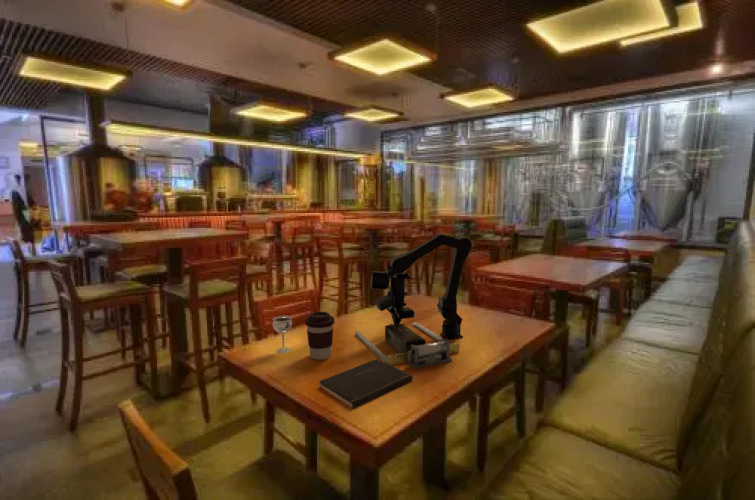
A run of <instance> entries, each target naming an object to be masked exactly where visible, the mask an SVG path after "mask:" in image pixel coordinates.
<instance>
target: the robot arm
mask: <svg viewBox="0 0 755 500" xmlns="http://www.w3.org/2000/svg"><path fill="white" fill-rule="evenodd" d="M472 245H473V244H472V241H471V240H470V239H469V238H468V237H465V236H462V235H458V236H452V235H446V234H443V233H440V232H439V233H436V234H435V235H434V236H432V237H431V238H429V239H428V240H426V241H424V242H423V243H421V244H419V245H418V246H416V247H415V248H413V249H411V250H409V251H407V252H402V253H400V254H397V255H395V256H393V257H392V258H391V260H390V263H389V266H387V268H386V269H385V271H376V270H372V271H371V278H370V289H371V290H387V289H388V288H389V290H388V291H387V293H386V294H387V295H383V296H381V297H378V298H376V299H375V300H374V302H375V305H376V308H377V309H378V310H379V311H381V312H383V311H384V312H385V310H387V311H388V313H390V315H391V319H392V322H393V325H395V324H401V322H402V320H405V319H412V318H415V311H414V310H413V309H412V308H410V307H409V306H407V302H405V301H406V300H405V298H406V296H408V293H407V292H406V281H407V280H411V279H412V277H411V275H410V274H409V273H408V271H407V270H408V269H409V268H410V267H412V265H413V264H414V263H415V262H416V261H417V260H420V259H421V258H423V257H425V256H426V255H428V254H429V253H431V252H433V251H434V250H436V249H439V247H441V246H447V247H450V248H451V256H452V260H451V265H450V269H449V274H448V279H447V283H446V287H445V292H444V294H443V296H438V303H437V304H436V307H437V310H438V312H439V314H440V315H441V317H443V319H444V320H443V321H442V325H441V332H440V334H439V335H440V336H441V337H443V338H444V339H445V338H446V340H448V341H449V340H450V341H451V340H455V339H460V338H461V339H462V338H463V336H464V335H462V334H461V330H462V329H461V328H462V327H461V326H462V322H463V318H462V317H461V316H460V315H459V314H458V302H457V296H458V290H459V286H460V281H461V277H462V272H463V268H464V264H465V261H466V259H467V258H468V256H469V255H470V252H471V250H472V247H473V246H472Z"/></svg>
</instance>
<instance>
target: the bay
mask: <svg viewBox="0 0 755 500" xmlns="http://www.w3.org/2000/svg"><path fill="white" fill-rule="evenodd" d="M412 322H413V321H412ZM412 325H413V326H414V327H416V328H418V330H420V331H422V332H424V333H425V334H427V335H428V336H430V338H432V339H434V340H436V342H438V341H442V339H444V337H443V336H441V335H438V334H437V333H436V332H434V331H432V330H431V329H429V328H427V327H425V326H424V325H422V324H420V323H419V322H418V321H414V322H413V324H412ZM354 335H355V336H356V337H357V338H358V339H359V340H360V341H361V342H362V343H363V344H365V346H366V347H367V348H368V349H369V350H371V351H372V352H373V353H374V354H375V355H376V356H377V357H378V358H379V360H381V361H383V362H385V363H387V364H389V365H391V366H394V365H399V364H404V363H407V362H406V352H404V353H399V352H398V353H394V354H389V355H386V354H385V353H384V352H382V351H381V350H380V349H379V348H378V347H377V346H375V344H374V343H372V342H371V341H370V340H369V339H368V338H367V337H366V336H365V335H363V334H362V333H361V332H360V331H359V330H356V331H354ZM459 352H460V343H459V342H452V343H451V342H450V345H449V354H453V353H454V354H455V353H459Z"/></svg>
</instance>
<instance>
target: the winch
mask: <svg viewBox="0 0 755 500" xmlns="http://www.w3.org/2000/svg"><path fill="white" fill-rule="evenodd" d="M450 343H451V342H450V341H449V340H448V339H445V338H443V339H442V341H435V342H429V343H426V344H422V345H417V346H415V345H411V351H407V352H406V362H405V363H407V364H409V365H410V366H411V367H412V368H413V369H414V370H417V369H421V368H422V369H423V368H426V367H427V368H428V367H431V366H435V365H436V366H437V365H440V364H445V363H450V362H453V361H452V360H453V358H452V357H451V356H450V353H449V345H450Z"/></svg>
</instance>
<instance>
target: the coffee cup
mask: <svg viewBox="0 0 755 500" xmlns="http://www.w3.org/2000/svg"><path fill="white" fill-rule="evenodd" d="M304 323H305V326H306V327H307V329H306V334H307V342H308V343H307V344H308V346H309V347H308V349H309V355H310V358H311V359H314V360H316V361H317V360H318V361H319V360H320V361H323V360H327V359H329V358H330V357H331V356H332V350H333V349H332V347H333V346H332V345H333V340H334V339H333V338H334V337H333V336H334V328H333V325H334V324H335V317H334V316H333V315H331V314H330V313H329V312H327V311H314V312H311V313H309V316H307V317H306V318H305V320H304Z"/></svg>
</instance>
